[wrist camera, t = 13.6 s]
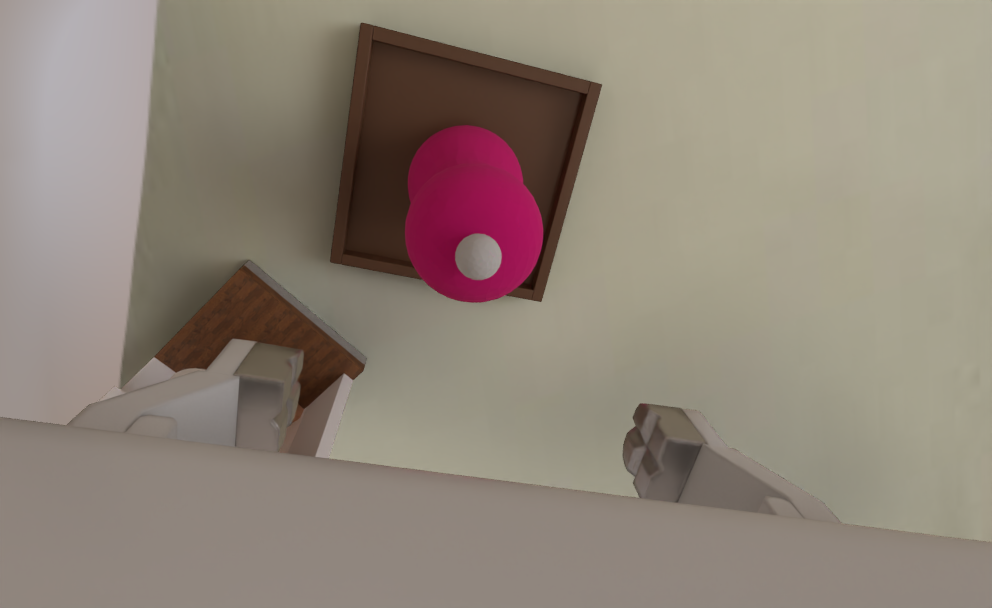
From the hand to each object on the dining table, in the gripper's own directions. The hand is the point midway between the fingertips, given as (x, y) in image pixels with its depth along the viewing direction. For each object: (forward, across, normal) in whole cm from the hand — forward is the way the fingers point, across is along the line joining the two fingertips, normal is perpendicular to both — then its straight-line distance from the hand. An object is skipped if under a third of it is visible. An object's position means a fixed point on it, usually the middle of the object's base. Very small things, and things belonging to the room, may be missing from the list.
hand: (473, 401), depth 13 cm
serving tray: (+29, 0, -1) cm, 29 cm away
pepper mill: (+28, 0, -1) cm, 28 cm away
